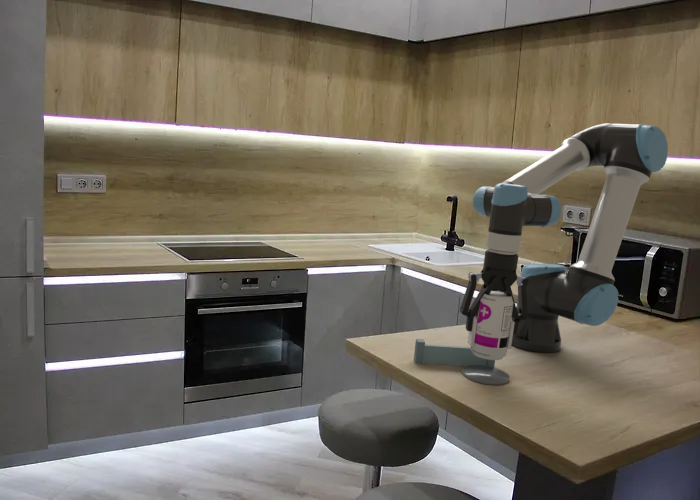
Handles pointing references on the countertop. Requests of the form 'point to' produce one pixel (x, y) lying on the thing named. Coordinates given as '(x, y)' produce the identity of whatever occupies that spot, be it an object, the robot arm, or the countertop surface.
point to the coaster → (485, 375)
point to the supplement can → (493, 326)
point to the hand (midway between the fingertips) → (489, 345)
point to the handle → (447, 355)
